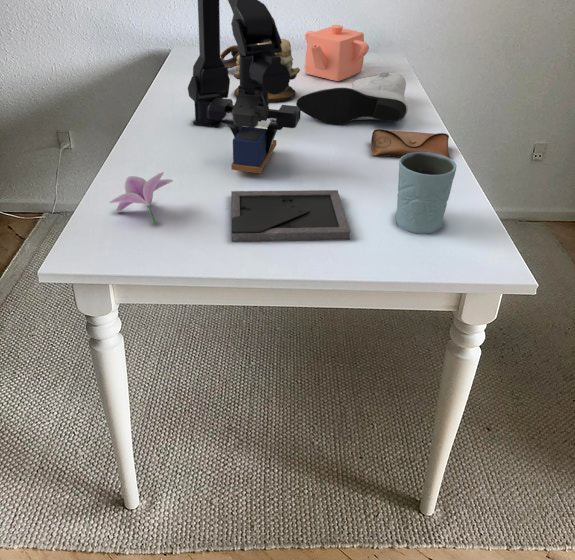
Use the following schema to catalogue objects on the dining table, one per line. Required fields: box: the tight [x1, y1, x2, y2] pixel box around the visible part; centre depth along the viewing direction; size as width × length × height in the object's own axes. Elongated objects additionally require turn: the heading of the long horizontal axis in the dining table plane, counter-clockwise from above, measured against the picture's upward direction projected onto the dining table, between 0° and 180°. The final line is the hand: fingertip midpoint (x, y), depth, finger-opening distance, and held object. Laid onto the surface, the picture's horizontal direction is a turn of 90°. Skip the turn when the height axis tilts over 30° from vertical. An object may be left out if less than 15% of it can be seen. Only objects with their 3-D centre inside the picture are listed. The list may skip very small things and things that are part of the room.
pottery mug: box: [220, 44, 240, 70], centre depth 188 cm, size 12×10×8 cm
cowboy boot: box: [295, 72, 409, 126], centre depth 162 cm, size 10×28×25 cm
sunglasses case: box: [370, 128, 452, 159], centre depth 142 cm, size 18×7×7 cm
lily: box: [109, 171, 174, 225], centre depth 113 cm, size 12×12×10 cm
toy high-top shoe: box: [230, 126, 277, 174], centre depth 132 cm, size 15×6×7 cm, turn 168°
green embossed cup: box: [395, 152, 458, 235], centre depth 113 cm, size 10×10×12 cm
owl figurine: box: [233, 38, 301, 103], centre depth 166 cm, size 18×12×17 cm, turn 92°
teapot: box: [304, 24, 370, 82], centre depth 184 cm, size 20×22×14 cm
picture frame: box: [230, 189, 351, 242], centre depth 116 cm, size 16×2×21 cm
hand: (254, 151), depth 133 cm, fingers closed on toy high-top shoe, 5 cm apart
